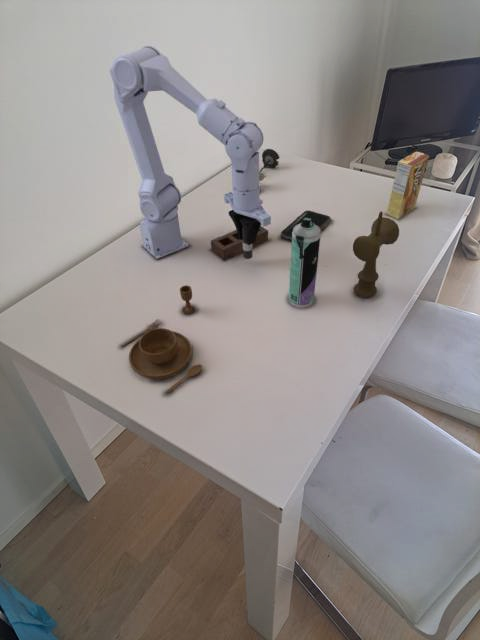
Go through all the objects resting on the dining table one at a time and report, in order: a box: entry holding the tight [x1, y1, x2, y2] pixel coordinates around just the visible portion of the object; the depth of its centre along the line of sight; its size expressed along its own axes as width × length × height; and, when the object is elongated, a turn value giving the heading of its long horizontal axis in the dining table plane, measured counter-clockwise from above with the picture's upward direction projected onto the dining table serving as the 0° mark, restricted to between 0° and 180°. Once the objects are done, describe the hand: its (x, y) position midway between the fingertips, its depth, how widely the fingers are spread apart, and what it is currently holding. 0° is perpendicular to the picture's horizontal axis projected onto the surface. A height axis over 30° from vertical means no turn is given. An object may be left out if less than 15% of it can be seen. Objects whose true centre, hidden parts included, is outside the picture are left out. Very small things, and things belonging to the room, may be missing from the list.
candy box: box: [386, 151, 430, 220], centre depth 116 cm, size 9×4×15 cm, turn 134°
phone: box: [280, 210, 331, 242], centre depth 116 cm, size 8×1×15 cm
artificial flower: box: [259, 148, 280, 192], centre depth 136 cm, size 9×22×10 cm, turn 152°
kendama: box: [352, 211, 400, 299], centre depth 89 cm, size 6×10×20 cm, turn 140°
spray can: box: [288, 217, 322, 309], centre depth 88 cm, size 6×6×20 cm
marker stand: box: [210, 226, 269, 261], centre depth 110 cm, size 14×6×3 cm, turn 126°
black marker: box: [242, 226, 253, 260], centre depth 101 cm, size 2×2×8 cm
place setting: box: [120, 285, 203, 395], centre depth 83 cm, size 18×20×6 cm
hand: (247, 240), depth 101 cm, fingers closed on black marker, 2 cm apart
